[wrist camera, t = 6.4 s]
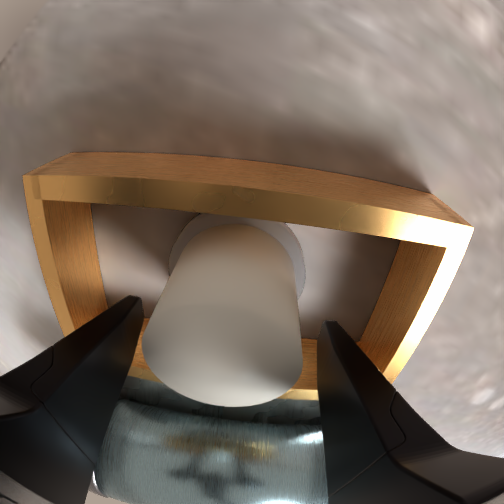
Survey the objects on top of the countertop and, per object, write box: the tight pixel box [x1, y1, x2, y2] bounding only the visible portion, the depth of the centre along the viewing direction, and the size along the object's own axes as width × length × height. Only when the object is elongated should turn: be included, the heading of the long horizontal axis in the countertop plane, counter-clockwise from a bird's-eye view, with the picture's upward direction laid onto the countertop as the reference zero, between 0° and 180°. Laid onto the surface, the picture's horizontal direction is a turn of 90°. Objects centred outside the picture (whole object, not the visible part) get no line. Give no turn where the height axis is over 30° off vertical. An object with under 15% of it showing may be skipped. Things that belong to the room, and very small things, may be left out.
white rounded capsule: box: [142, 213, 305, 407], centre depth 10 cm, size 5×5×5 cm
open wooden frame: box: [22, 152, 474, 504], centre depth 11 cm, size 19×18×8 cm
